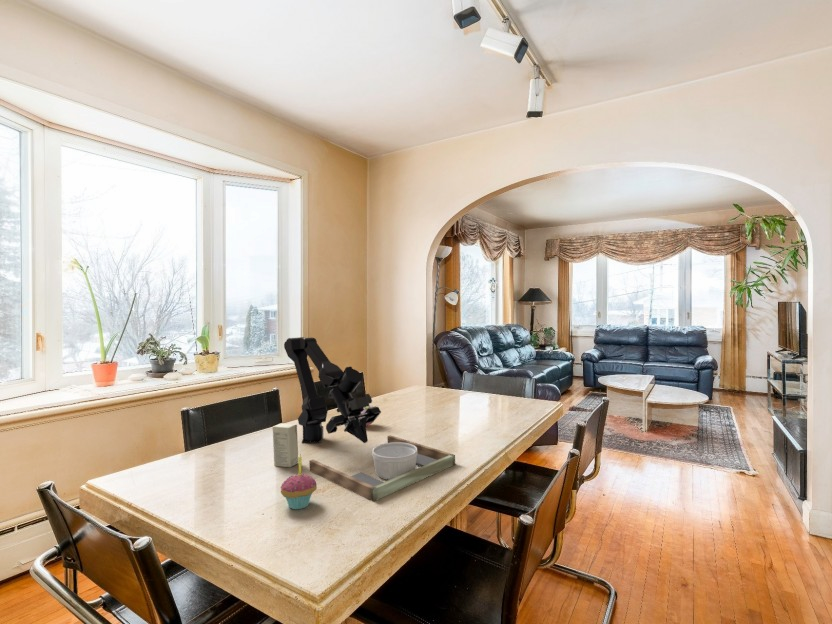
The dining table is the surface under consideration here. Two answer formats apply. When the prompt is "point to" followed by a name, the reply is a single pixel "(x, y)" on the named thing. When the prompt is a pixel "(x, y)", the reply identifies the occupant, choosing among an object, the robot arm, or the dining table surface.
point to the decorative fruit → (365, 411)
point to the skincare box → (285, 445)
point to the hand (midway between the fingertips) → (366, 442)
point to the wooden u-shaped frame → (390, 486)
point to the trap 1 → (367, 479)
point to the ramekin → (394, 459)
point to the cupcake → (298, 489)
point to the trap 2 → (423, 460)
